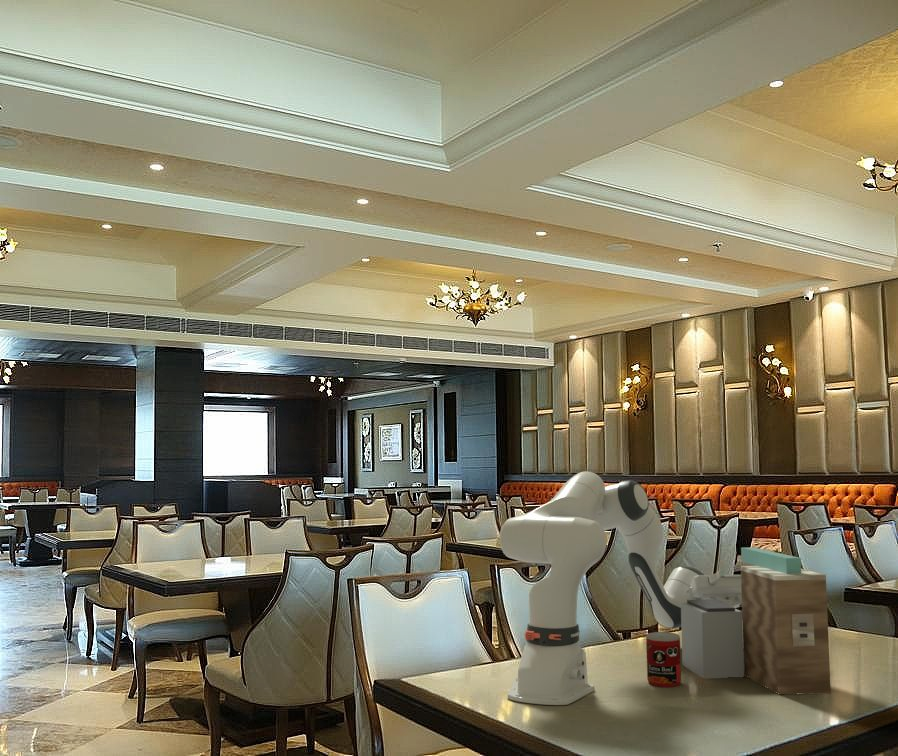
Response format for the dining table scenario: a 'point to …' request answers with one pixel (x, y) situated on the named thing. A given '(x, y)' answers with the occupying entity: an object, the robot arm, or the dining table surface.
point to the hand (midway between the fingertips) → (738, 573)
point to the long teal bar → (771, 560)
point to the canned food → (663, 659)
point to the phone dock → (712, 639)
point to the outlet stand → (785, 630)
